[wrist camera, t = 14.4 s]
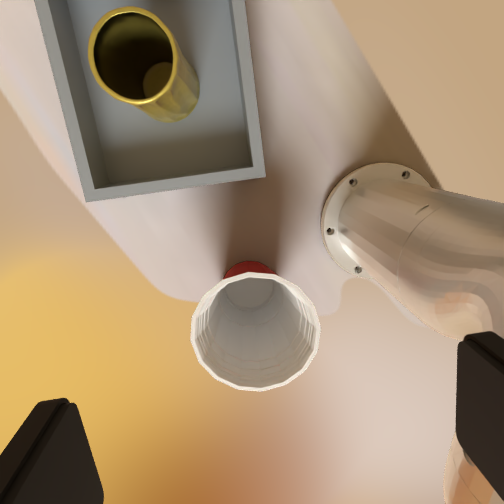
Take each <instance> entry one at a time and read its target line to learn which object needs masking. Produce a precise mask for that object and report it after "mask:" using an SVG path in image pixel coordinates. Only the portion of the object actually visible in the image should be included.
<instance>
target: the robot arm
mask: <svg viewBox="0 0 504 504" xmlns="http://www.w3.org/2000/svg"><path fill="white" fill-rule="evenodd" d="M403 172H404V176H402V173H403ZM351 179H352V180H353V183H352V184H349V181H350V180H351ZM328 228H330V231H329V232H327V229H328ZM321 234H322V239H323V243H324V245H325V248H326V250H327V252H328V254H329V255H330V256H331V258H332V259H333V260H334V261H335V262H336V263H337V264H338V265H339V267H341V268H342V269H344V270H345V271H346V272H348V273H350V274H352V275H354V276H357V277H361V278H365V279H375V280H376V281H377V282H378V283H380V284H381V285H382V286H383V287H384V288H385V289H386V290H387V291H388V292H389V293H391V294H392V295H393V296H394V297H395V298H396V299H397V300H398V301H399V302H400V303H401V304H403V305H404V306H405V307H406V308H407V309H408V310H409V311H410V312H411V313H413V314H414V315H415V316H416V317H417V318H418V319H420V320H421V321H422V322H423V323H424V324H425V325H427V326H428V327H430V328H431V329H433V330H434V331H436V332H438V333H440V334H442V335H444V336H447V337H450V338H453V339H457V340H462V341H461V342H459V344H458V350H457V351H458V352H457V355H458V356H457V393H456V396H457V397H456V431H455V434H454V437H453V440H452V444H451V447H450V450H449V454H448V457H447V461H446V466H445V471H444V480H443V492H444V500H445V504H504V203H500V202H495V201H490V200H485V199H479V198H475V197H471V196H466V195H461V194H457V193H453V192H448V191H444V190H439V189H435V188H431V186H430V185H429V183H428V182H427V181H426V180H425V179H424V178H423V177H422V176H421V175H420V174H419V173H417V172H416V171H414V170H413V169H411V168H408V167H406V166H403V165H400V164H395V163H382V162H381V163H374V164H369V165H366V166H363V167H360V168H358V169H356V170H355V171H353V172H351V173H349V174H348V175H347V176H346V177H344V178H343V179H342V180H341V181H340V182H339V183H338V184H337V185H336V186H335V188H334V189H333V190H332V192H331V193H330V195H329V197H328V199H327V200H326V203H325V206H324V209H323V212H322V218H321ZM357 266H358V268H357V269H355V267H357ZM103 501H104V493H103V488H102V485H101V481H100V478H99V475H98V472H97V468H96V466H95V462H94V459H93V456H92V452H91V450H90V446H89V443H88V440H87V436H86V433H85V430H84V427H83V424H82V420H81V417H80V414H79V411H78V408H77V405H76V404H75V403H70V402H69V401H68V400H67V399H66V398H60V399H53V400H47V401H41V402H39V403H38V404H37V405H36V406H35V407H34V409H33V410H32V411H31V413H30V414H29V416H28V417H27V418H26V420H25V421H24V423H23V424H22V425H21V427H20V428H19V430H18V431H17V432H16V434H15V435H14V437H13V438H12V440H11V441H10V442H9V444H8V445H7V447H6V448H5V449H4V451H3V452H2V454H1V455H0V504H103Z"/></svg>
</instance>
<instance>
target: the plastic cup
mask: <svg viewBox="0 0 504 504" xmlns="http://www.w3.org/2000/svg"><path fill="white" fill-rule="evenodd" d="M320 332H321V326H320V323H319V320H318V316H317V313H316V309H315V306H314V304H313V303H312V302H311V301H310V299H309V298H308V297H307V296H306V295H305V294H304V292H303V291H302V290H301V289H300V288H299V287H298V286H297V285H295V284H293V283H291V282H289V281H287V280H285V279H283V278H281V277H279V276H278V275H277V274H276V273H275V272H274V271H272V270H270V269H269V268H268V267H267V266H265V265H263V264H261V263H259V262H254V261H245V262H242V263H239V264H236V265H235V266H233V267H232V268H231V269H230V270H229V271H228V272H227V273H226V275H225V277H224V278H223V280H222V281H221V282H219V283H218V284H217V285H216V286H214V287H213V288H212V289H211V290H209V291H208V292H207V293H206V294H204V295H203V297H202V299H201V300H200V302H199V304H198V306H197V308H196V310H195V312H194V314H193V316H192V323H191V343H192V346H193V348H194V351H195V353H196V356H197V359H198V361H199V363H200V364H201V365H202V366H203V367H204V368H205V369H206V370H207V371H208V372H209V373H210V374H211V375H212V376H213V377H214V378H215V379H216V380H218V381H220V382H223V383H225V384H227V385H229V386H231V387H233V388H236V389H239V390H251V391H265V390H269V389H272V388H276V387H280V386H283V385H286V384H288V383H289V382H290V381H292V380H293V379H295V378H296V377H297V376H299V375H300V374H302V373H303V372H304V371H305V370H306V369H307V367H308V366H309V364H310V362H311V361H312V359H313V358H314V356H315V355H316V353H317V351H318V345H319V338H320Z"/></svg>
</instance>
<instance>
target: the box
mask: <svg viewBox="0 0 504 504" xmlns="http://www.w3.org/2000/svg"><path fill="white" fill-rule="evenodd" d="M34 2H35V6H36V10H37V14H38V18H39V21H40V25H41V29H42V33H43V37H44V41H45V45H46V49H47V53H48V56H49V60H50V64H51V68H52V72H53V76H54V80H55V84H56V87H57V91H58V95H59V99H60V103H61V107H62V111H63V115H64V119H65V122H66V126H67V130H68V134H69V138H70V142H71V146H72V150H73V154H74V157H75V161H76V165H77V169H78V173H79V177H80V181H81V185H82V189H83V192H84V196H85V200H86V202H92V201H99V200H106V199H113V198H120V197H127V196H134V195H142V194H149V193H156V192H163V191H170V190H177V189H184V188H191V187H198V186H205V185H212V184H219V183H226V182H233V181H240V180H247V179H254V178H262V177H266V173H265V165H264V157H263V148H262V140H261V132H260V124H259V115H258V107H257V99H256V90H255V82H254V74H253V65H252V57H251V49H250V40H249V32H248V24H247V16H246V7H245V0H34ZM126 6H134V7H139V8H143V9H145V10H148V11H150V12H152V13H153V14H155V15H156V16H157V17H158V18H159V19H160V20H161V21H162V22H163V23H164V24H165V25H166V26H167V27H168V29H169V30H170V31H171V32H172V34H173V35H174V37H175V39H176V41H177V43H178V46H179V48H180V50H181V52H182V55H183V56H184V57H185V58H186V60H187V61H188V63H189V64H190V65H191V66H192V67H193V68H194V70H195V72H196V74H197V77H198V80H199V85H200V91H199V99H198V102H197V105H196V107H195V108H194V110H193V111H192V112H191V113H190V114H189V115H188V116H187V117H186V118H184V119H182V120H180V121H177V122H173V123H165V122H160V121H157V120H154V119H153V118H151V117H149V116H148V115H147V114H146V113H145V112H143V111H142V110H140V109H138V108H136V107H135V106H133V105H131V104H129V103H125V102H122V101H119V100H117V99H115V98H113V97H112V96H111V95H109V94H108V93H107V92H106V91H105V90H104V89H102V87H101V86H100V85H99V84H98V83H97V81H96V79H95V77H94V75H93V73H92V70H91V68H90V64H89V60H88V43H89V37H90V35H91V32H92V29H93V27H94V26H95V25H96V23H97V22H98V21H99V20H100V19H101V17H102V16H104V15H105V14H106V13H107V12H109V11H111V10H114V9H117V8H121V7H126Z"/></svg>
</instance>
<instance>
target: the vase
mask: <svg viewBox="0 0 504 504" xmlns="http://www.w3.org/2000/svg"><path fill="white" fill-rule="evenodd" d="M88 60H89V64H90V68H91V70H92V73H93V75H94V77H95V79H96V81H97V83H98V84H99V85H100V86H101V87H102V89H104V90H105V91H106V92H107V93H108V94H109V95H111V96H112V97H113V98H115V99H117V100H119V101H122V102H125V103H129V104H131V105H133V106H135V107H136V108H138V109H140V110H142V111H143V112H145V113H146V114H147V115H148V116H149V117H151V118H153V119H154V120H157V121H160V122H165V123H173V122H177V121H180V120H182V119H184V118H186V117H187V116H188V115H189V114H190V113H191V112H192V111H193V110H194V108H195V107H196V105H197V102H198V99H199V91H200V85H199V80H198V77H197V74H196V72H195V70H194V68H193V67H192V66H191V65H190V64H189V63H188V61H187V60H186V58H185V57H184V56H183V55H182V52H181V50H180V48H179V46H178V43H177V41H176V39H175V37H174V35H173V34H172V32H171V31H170V30H169V29H168V27H167V26H166V25H165V24H164V23H163V22H162V21H161V20H160V19H159V18H158V17H157V16H156V15H155V14H153V13H152V12H150V11H148V10H145V9H143V8H139V7H134V6H126V7H121V8H117V9H114V10H111V11H109V12H107V13H106V14H105V15H104V16H102V17H101V19H100V20H99V21H98V22H97V23H96V25H95V26H94V27H93V29H92V32H91V35H90V37H89V43H88Z"/></svg>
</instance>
